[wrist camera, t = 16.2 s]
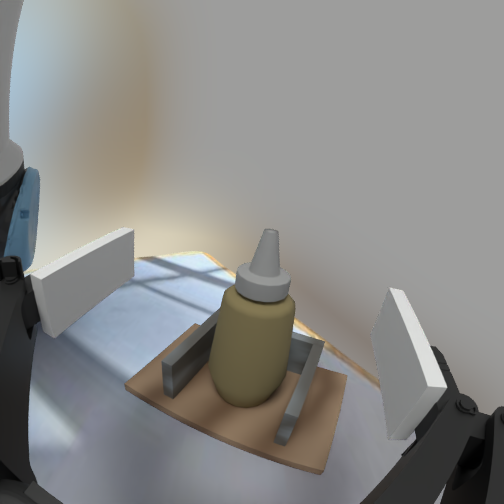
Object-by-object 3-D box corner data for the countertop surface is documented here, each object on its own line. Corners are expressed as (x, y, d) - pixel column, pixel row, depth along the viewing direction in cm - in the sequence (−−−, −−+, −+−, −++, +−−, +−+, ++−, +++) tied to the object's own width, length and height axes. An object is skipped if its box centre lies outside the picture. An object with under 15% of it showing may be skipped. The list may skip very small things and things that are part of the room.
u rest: (125, 389, 27) (118, 349, 25) (194, 328, 41) (196, 292, 38) (320, 475, 20) (343, 444, 18) (344, 380, 34) (360, 345, 32)
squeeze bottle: (238, 356, 35) (260, 213, 29) (292, 388, 31) (336, 238, 24) (190, 386, 29) (199, 224, 23) (248, 429, 24) (287, 258, 18)
